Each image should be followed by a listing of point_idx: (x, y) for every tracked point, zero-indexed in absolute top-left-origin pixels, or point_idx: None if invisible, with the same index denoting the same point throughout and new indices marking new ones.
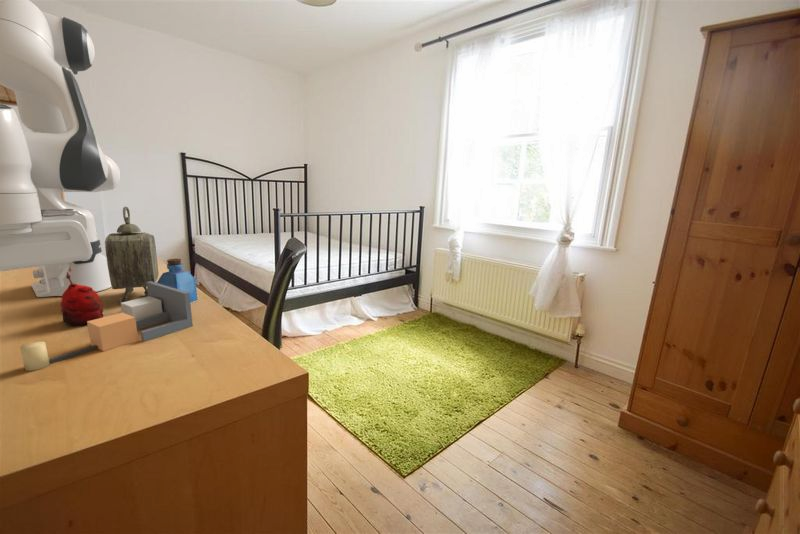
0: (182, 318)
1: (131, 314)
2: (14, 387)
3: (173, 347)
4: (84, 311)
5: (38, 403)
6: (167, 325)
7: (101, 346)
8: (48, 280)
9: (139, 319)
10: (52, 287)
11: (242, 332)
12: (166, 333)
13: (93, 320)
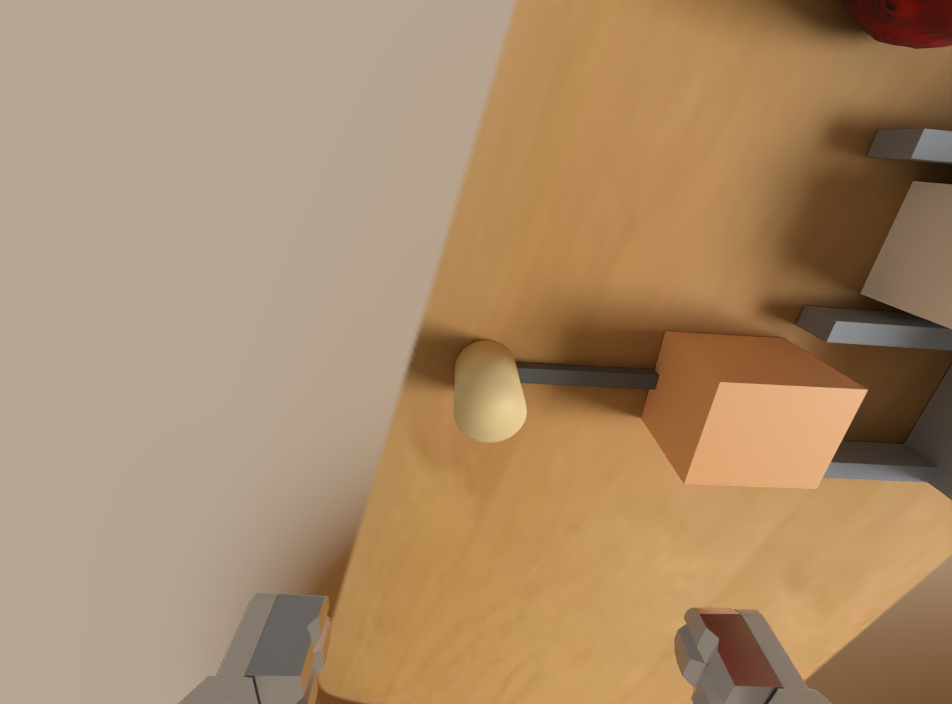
0: (942, 448)
1: (927, 302)
2: (398, 451)
3: (730, 545)
4: (930, 23)
5: (403, 561)
6: (850, 477)
7: (649, 420)
8: (725, 669)
9: (898, 334)
10: (681, 654)
11: (875, 602)
12: None
13: (738, 393)
